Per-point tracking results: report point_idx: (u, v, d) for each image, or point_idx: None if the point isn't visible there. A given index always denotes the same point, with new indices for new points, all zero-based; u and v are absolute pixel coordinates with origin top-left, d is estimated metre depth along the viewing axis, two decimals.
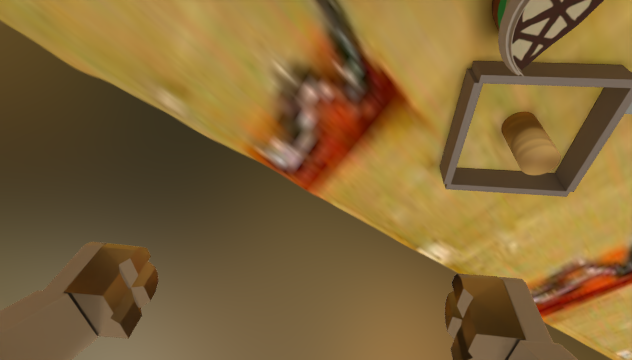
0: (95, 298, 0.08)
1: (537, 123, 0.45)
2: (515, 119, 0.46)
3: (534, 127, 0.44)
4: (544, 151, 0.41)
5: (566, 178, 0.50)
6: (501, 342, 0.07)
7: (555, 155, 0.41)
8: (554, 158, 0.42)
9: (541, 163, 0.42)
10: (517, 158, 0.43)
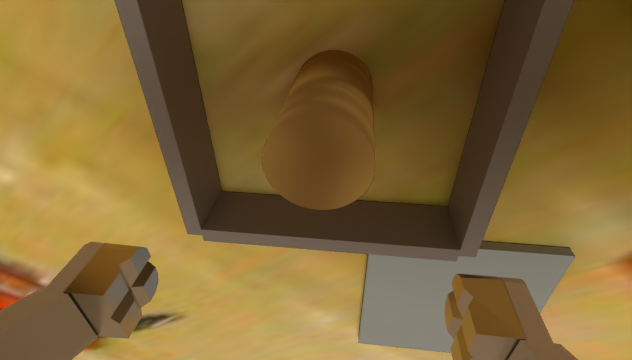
0: (95, 298, 0.08)
1: None
2: (364, 73, 0.18)
3: None
4: (357, 167, 0.13)
5: (227, 217, 0.23)
6: (501, 342, 0.07)
7: (342, 196, 0.14)
8: (332, 196, 0.14)
9: (309, 172, 0.14)
10: (309, 104, 0.13)
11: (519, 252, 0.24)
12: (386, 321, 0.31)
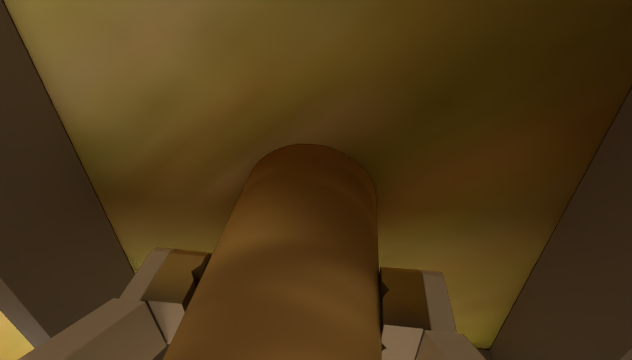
0: (172, 306, 0.08)
1: None
2: (362, 193, 0.10)
3: (379, 300, 0.09)
4: None
5: None
6: (409, 332, 0.07)
7: None
8: None
9: None
10: None
11: None
12: None
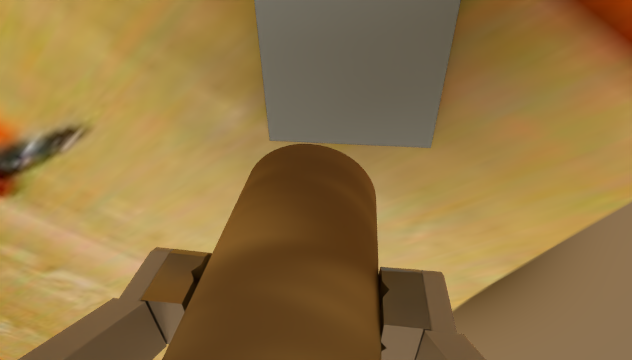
0: (172, 306, 0.08)
1: None
2: (362, 192, 0.10)
3: (378, 300, 0.09)
4: None
5: None
6: (409, 332, 0.07)
7: None
8: None
9: None
10: None
11: None
12: (291, 99, 0.29)
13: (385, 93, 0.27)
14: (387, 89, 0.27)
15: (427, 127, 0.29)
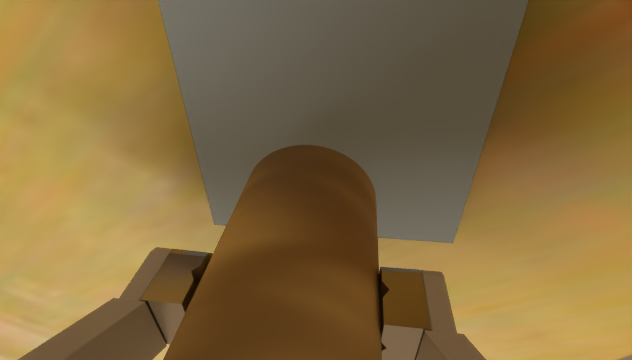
0: (172, 306, 0.08)
1: None
2: (362, 193, 0.10)
3: None
4: None
5: None
6: (409, 332, 0.07)
7: None
8: None
9: None
10: None
11: None
12: (241, 172, 0.18)
13: (384, 169, 0.17)
14: (389, 164, 0.17)
15: (449, 217, 0.19)
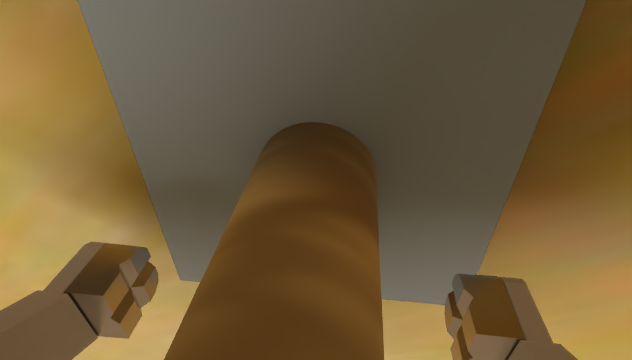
0: (95, 298, 0.08)
1: None
2: (364, 164, 0.11)
3: None
4: None
5: None
6: (501, 342, 0.07)
7: None
8: None
9: None
10: (245, 303, 0.06)
11: None
12: (208, 226, 0.15)
13: (382, 226, 0.14)
14: (387, 221, 0.14)
15: None
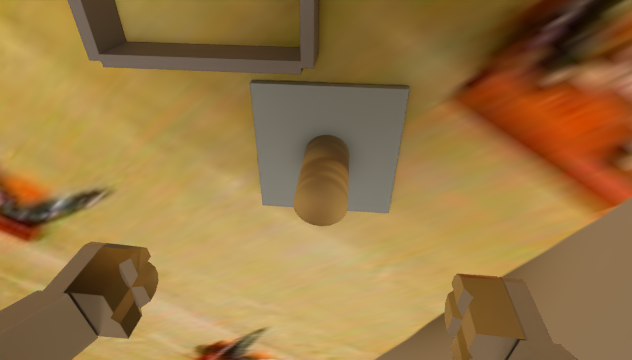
0: (95, 298, 0.08)
1: None
2: (344, 149, 0.33)
3: (348, 176, 0.31)
4: (339, 206, 0.28)
5: (124, 50, 0.28)
6: (501, 342, 0.07)
7: (332, 219, 0.29)
8: (327, 219, 0.29)
9: (316, 208, 0.28)
10: (316, 176, 0.28)
11: (367, 88, 0.30)
12: (280, 177, 0.37)
13: (352, 175, 0.36)
14: (354, 173, 0.35)
15: (385, 199, 0.37)
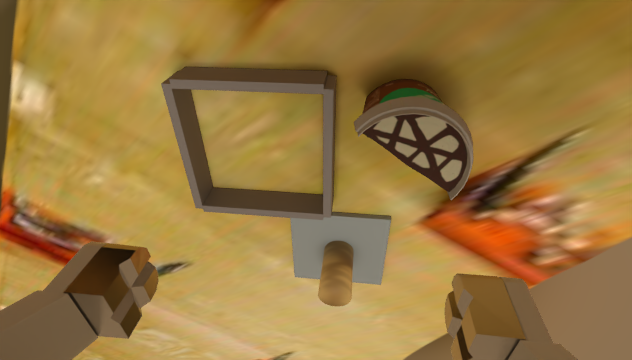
0: (95, 298, 0.08)
1: None
2: (350, 251, 0.50)
3: (352, 271, 0.49)
4: (346, 297, 0.46)
5: (215, 200, 0.47)
6: (501, 342, 0.07)
7: (342, 303, 0.47)
8: (338, 303, 0.47)
9: (332, 297, 0.46)
10: (332, 279, 0.45)
11: (364, 218, 0.48)
12: (307, 261, 0.55)
13: (355, 262, 0.53)
14: (357, 261, 0.53)
15: (378, 276, 0.55)
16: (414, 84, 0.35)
